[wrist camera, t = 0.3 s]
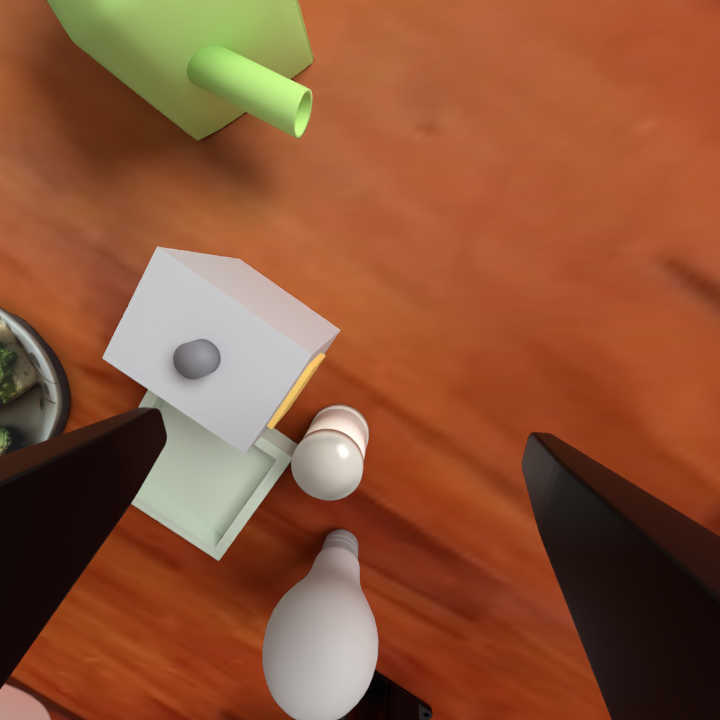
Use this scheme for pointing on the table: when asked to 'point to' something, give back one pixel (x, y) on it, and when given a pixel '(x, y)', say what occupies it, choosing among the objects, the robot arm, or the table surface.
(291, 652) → the lightbulb
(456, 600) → the table surface
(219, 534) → the tray
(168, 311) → the box
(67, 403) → the salad plate
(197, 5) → the gearbox
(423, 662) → the table surface
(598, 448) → the table surface
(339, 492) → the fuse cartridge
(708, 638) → the robot arm
